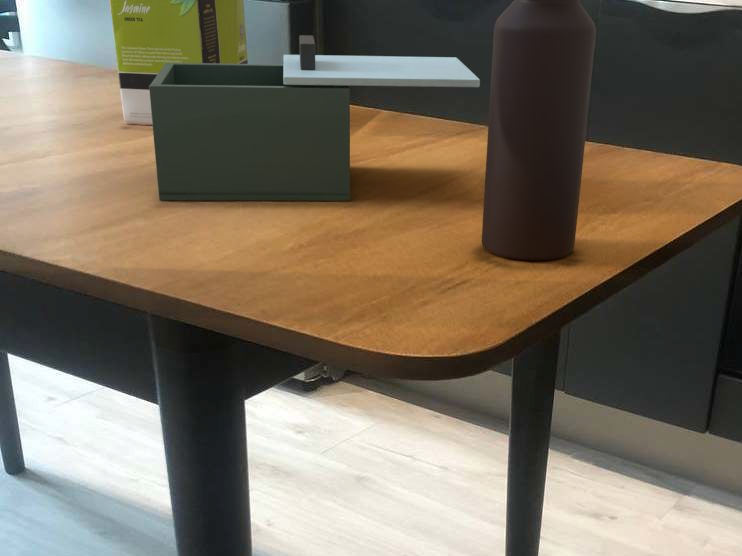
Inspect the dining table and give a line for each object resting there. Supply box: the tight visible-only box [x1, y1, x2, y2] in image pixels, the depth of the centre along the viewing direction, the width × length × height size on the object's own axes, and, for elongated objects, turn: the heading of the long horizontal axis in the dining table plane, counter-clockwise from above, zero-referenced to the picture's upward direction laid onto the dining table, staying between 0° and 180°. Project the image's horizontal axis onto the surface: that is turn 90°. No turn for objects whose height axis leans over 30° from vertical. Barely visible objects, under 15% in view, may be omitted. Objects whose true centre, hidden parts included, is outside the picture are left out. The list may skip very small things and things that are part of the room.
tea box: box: [108, 0, 249, 126], centre depth 119 cm, size 15×10×15 cm
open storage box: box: [149, 63, 351, 202], centre depth 93 cm, size 16×14×9 cm
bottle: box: [481, 0, 597, 262], centre depth 74 cm, size 7×7×20 cm
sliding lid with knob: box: [282, 34, 481, 88], centre depth 91 cm, size 16×14×3 cm
